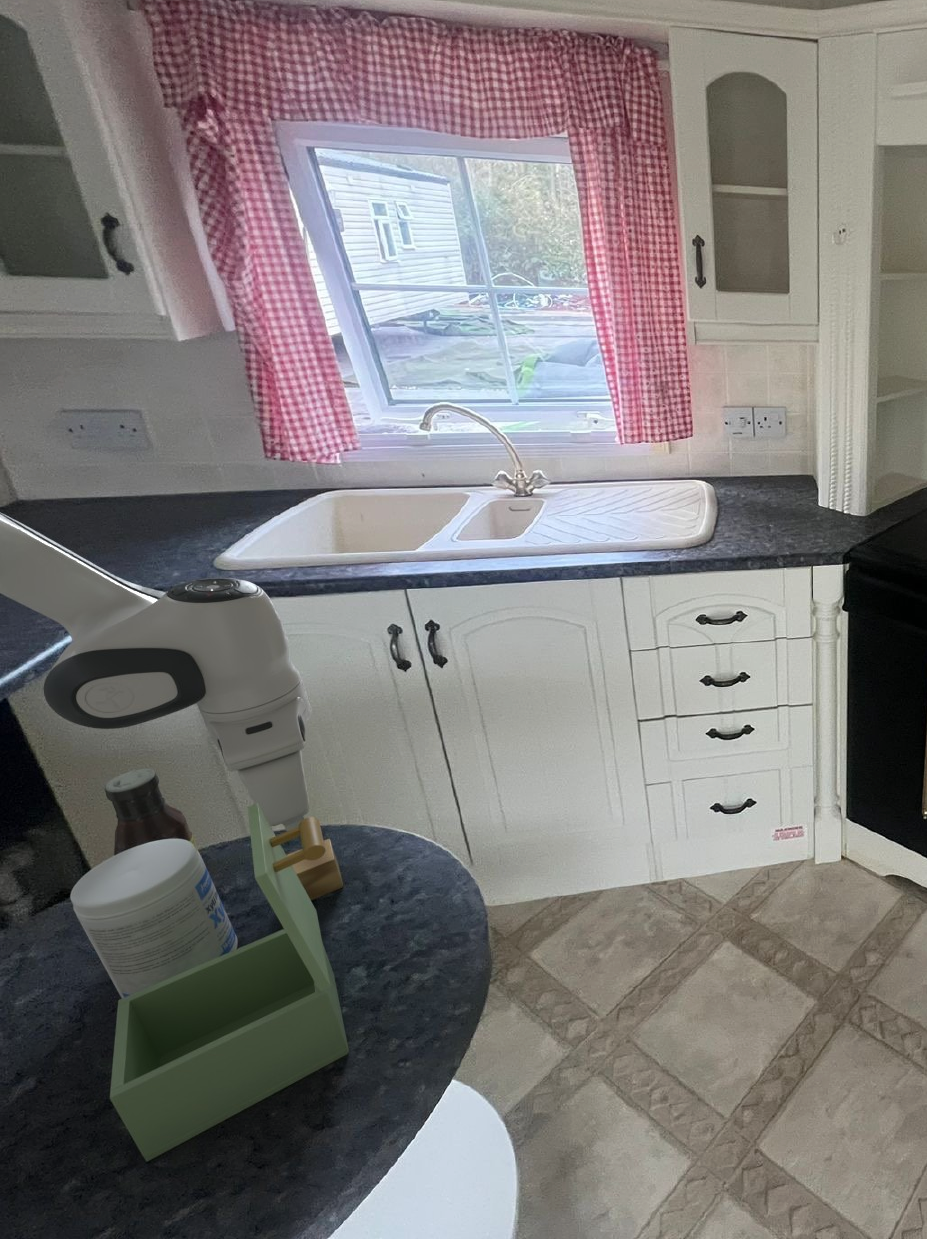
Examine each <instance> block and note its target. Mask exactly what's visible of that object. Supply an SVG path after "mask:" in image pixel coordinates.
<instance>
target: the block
mask: <svg viewBox="0 0 927 1239" xmlns="http://www.w3.org/2000/svg"><path fill="white" fill-rule="evenodd" d="M323 840H324V839H323ZM324 845H325V850H326V851H325V853H324V855H323V856H322V857H321V858H319V859H317V860H312V861H310V860H306V859H305V860H303V861H300V862H298V863H296V864H294V865H292V867H293V869H294V871H295V872H296V874H297V876H298V878H299V880H300V882H301V884H302V885H303V887H304V889H305V891H306V893H307V895H308V896H309V898H310V900H311V901H313V900H316V899H318V898H321V897H322V896H325V895H328V894H330V893H332V892H335V891H338V890H340V889H342V888H344V882H343V877H342V874H341V869H340V865H339V862H338V858H337V856H336V853H335V850H334V847H333V844H332V841H331V839H330V838H327V839H325V840H324ZM302 850H303V849H302V848H301V849H298V850H296V851H292V852H290V853H287V854H286V856H287V857H288V856H290V855H293V854H295V853H297V852H299V851H302Z"/></svg>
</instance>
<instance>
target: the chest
mask: <svg viewBox="0 0 927 1239" xmlns="http://www.w3.org/2000/svg"><path fill="white" fill-rule="evenodd" d="M322 944H323V949H324V955H325V960H326V965H327V971H328V976H329V981H330V987H328V988H327V989H325V990H323V991H321V992H320V990H319V988H318V987H317V985H316V983H315V981H314V980H313V978H312V976H311V975H310V973H309V971H308V969H307V968H306V966H305V964H304V962H303V961H302V959H301V957H300V955H299V954H298V952H297V950H296V949H295V947H294V945H293V943H292V942H291V940H290V938H289V936H288V935H287V933H286V931H285V929H284V928H283V929H280V930H278V931H276V932H273V933H271V934H269V935H266V936H265V937H261V938H259V939H257V940H255V941H253V942H250V943H248V944H246V945H243V946H241V947H239V948H237V949H236V950H234V951H232V952H229V953H227V954H225V955H222V956H220V957H218V958H215V959H213V960H211V961H208V962H206V963H204V964H201V965H199V966H197V967H194V968H192V969H190V970H187V971H185V972H183V973H180V974H178V975H176V976H173V977H171V978H169V979H167V980H164V981H162V982H160V983H157V984H155V985H153V986H150V987H148V988H146V989H143V990H141V991H139V992H136V993H134V994H132V995H129V996H127V997H125V998H120V999H119V1000H118V1001H117V1010H116V1011H117V1012H116V1022H115V1023H116V1024H115V1034H114V1035H115V1036H114V1044H113V1057H112V1067H111V1068H112V1069H111V1080H110V1091H109V1092H110V1093H109V1100H110V1102H111V1103H112V1105H113V1107H114V1108H115V1110H116V1112H117V1113H118V1115H119V1117H120V1119H121V1120H122V1122H123V1124H124V1126H125V1127H126V1129H127V1131H128V1133H129V1134H130V1136H131V1138H132V1140H133V1141H134V1143H135V1145H136V1147H137V1149H138V1151H139V1152H140V1154H141V1155H142V1157H143V1158H144V1160H145V1162H150V1161H152V1160H153V1159H156V1158H158V1157H159V1156H160V1155H162V1154H164V1153H166V1152H169V1151H170V1150H172V1149H174V1148H175V1147H178V1146H180V1145H181V1144H183V1143H185V1142H187V1141H188V1140H191V1139H192V1138H194V1137H196V1136H198V1135H200V1134H201V1133H203V1132H205V1131H207V1130H209V1129H211V1128H212V1127H214V1126H216V1125H218V1124H220V1123H222V1122H224V1121H226V1120H227V1119H230V1118H231V1117H233V1116H235V1115H237V1114H239V1113H241V1112H242V1111H244V1110H246V1109H248V1108H250V1107H252V1106H254V1105H255V1104H257V1103H259V1102H261V1101H263V1100H265V1099H266V1098H268V1097H270V1096H272V1095H274V1094H276V1093H278V1092H279V1091H282V1090H284V1089H286V1088H287V1087H289V1086H291V1085H293V1084H295V1083H296V1082H298V1081H300V1080H302V1079H304V1078H306V1077H307V1076H309V1075H311V1074H313V1073H315V1072H316V1071H319V1070H320V1069H322V1068H324V1067H326V1066H328V1065H330V1064H331V1063H334V1062H336V1061H337V1060H339V1059H341V1058H343V1057H345V1056H347V1055H348V1054H349V1053H350V1050H349V1045H348V1040H347V1035H346V1028H345V1025H344V1019H343V1014H342V1009H341V1004H340V998H339V994H338V988H337V983H336V977H335V973H334V971H333V968H332V965H331V963H330V959H329V956H328V954H327V950H326V948H325V945H324V943H323V942H322Z"/></svg>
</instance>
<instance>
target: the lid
mask: <svg viewBox="0 0 927 1239" xmlns="http://www.w3.org/2000/svg"><path fill="white" fill-rule="evenodd" d="M247 815H248V824H249V833H250V834H249V835H250V844H251V855H252V863H253V872H254V879H255V881H256V882H257V884H258V886H259V888H260V889H261V891H262V893H263V895H264V898H266V900H267V902H268V904H269V905H270V907H271V909H272V910H273V912H274V914H275V916H276V917H277V919H278V921H279V923H280V924H281V926H282V928H283V929H285V931H286V933H287V935H288V936H289V938H290V940H291V942H292V943H293V945H294V947H295V949H296V950H297V952H298V954H299V955H300V957H301V959H302V961H303V962H304V964H305V966H306V968H307V969H308V971H309V973H310V975H311V976H312V978H313V980H314V981H315V983H316V985H317V987H318V988H319V990H320V992H321V991H323V990H325V989H327V988H328V987H330V981H329V976H328V971H327V965H326V960H325V955H324V949H323V946H324V943H323V940H322V933H321V928H320V923H319V919H318V918H319V917H318V913H317V909H316V907H315V906H314V904H313V902H312V900H310V898H309V896H308V895H307V893H306V891H305V889H304V887H303V885H302V884H301V882H300V880H299V878H298V876H297V874H296V872H295V871H294V869H293V867H292V865H294V864H296V863H298V862H300V861H303V860H305V859H306V860H310V861H312V860H317V859H319V858H321V857H322V856H323V855H324V853H325V851H326V850H325V845H324V836H323V832H322V828H321V827H322V826H321V823H320V819H319V818H318V817H316V816H308V817H305V819H303V820H302V821H301V822H300V823H299V827H296V828H294V829H292V830H289V831H285V832H282V833H280V834H277V835H276V834H275V832H274V830H273V828H272V826H270V824H269V823H268V821H267V819H266V817H265V815H264V813H263V812H262V810H261V808H260V806H259V804H258V803H257V804H254V803H253V804H251V805H249V806H247ZM298 837H299V838H300V842H301V843H300V844H301V849H303V850H302V851H299V852H297V853H295V854H293V855H290V856H288V857H287V856H286V855H287V854H286V853H285V851H284V848H283V846H282V844H285V843H287V842H289V841H291V840H294V839H296V838H298ZM322 943H323V944H322Z"/></svg>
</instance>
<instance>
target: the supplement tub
mask: <svg viewBox="0 0 927 1239" xmlns="http://www.w3.org/2000/svg"><path fill="white" fill-rule="evenodd" d="M69 896H70V897H69V899H70V901H71V903H72V907H73V912H74V913H75V916H76V917H77V920H78V921H79V924H80V925H81V927H82V930H83V931H84V932H85V934H86V936H87V938H88V939H89V942H90V943H91V945H92V947H93V948H94V951H95V953H96V954H97V956H98V958H99V960H100V961H101V963H102V965H103V967H104V969H105V971H106V972H107V974H108V976H109V978H110V979H111V982H112V983H113V985H114V987H115V989H116V991H117V993H118V995H119V996H120V999H122V998H125V997H127V996H129V995H132V994H134V993H136V992H139V991H141V990H143V989H146V988H148V987H150V986H153V985H155V984H157V983H160V982H162V981H164V980H167V979H169V978H171V977H173V976H176V975H178V974H180V973H183V972H185V971H187V970H190V969H192V968H194V967H197V966H199V965H201V964H204V963H206V962H208V961H211V960H213V959H215V958H218V957H220V956H222V955H225V954H227V953H229V952H232V951H234V950H236V949H238V942H239V941H238V937H237V935H236V932H235V930H234V928H233V925H232V923H231V921H230V919H229V916H228V913H227V911H226V909H225V907H224V905H223V902H222V900H221V898H220V895H219V893H218V891H217V888H216V886H215V884H214V881H213V879H212V877H211V875H210V872H209V870H208V868H207V865H206V864H205V862H204V859H203V858H202V855H201V854H200V852H199V850H198V851H197V850H196V848H195V846H194V845H193V844H192V843H191V842H190V841H187V840H183V839H164V840H158V841H153V842H149V843H146V844H142V845H139V846H136V847H133V848H131V849H128V850H126V851H123V852H121V853H119V854H117V855H115V856H114V855H113V856H110V857H109V858H107V859H105V860H104V861H102V862H101V863H99V864H97V865H96V866H94V867H93V868H92V869H90V870H89V871H87V872H86V873H85V874H84V875H83V876H81V878H80V879H79V880H78V881H77V882H76V884H74V886H73V888H72V889H71V891H70V895H69Z"/></svg>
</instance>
